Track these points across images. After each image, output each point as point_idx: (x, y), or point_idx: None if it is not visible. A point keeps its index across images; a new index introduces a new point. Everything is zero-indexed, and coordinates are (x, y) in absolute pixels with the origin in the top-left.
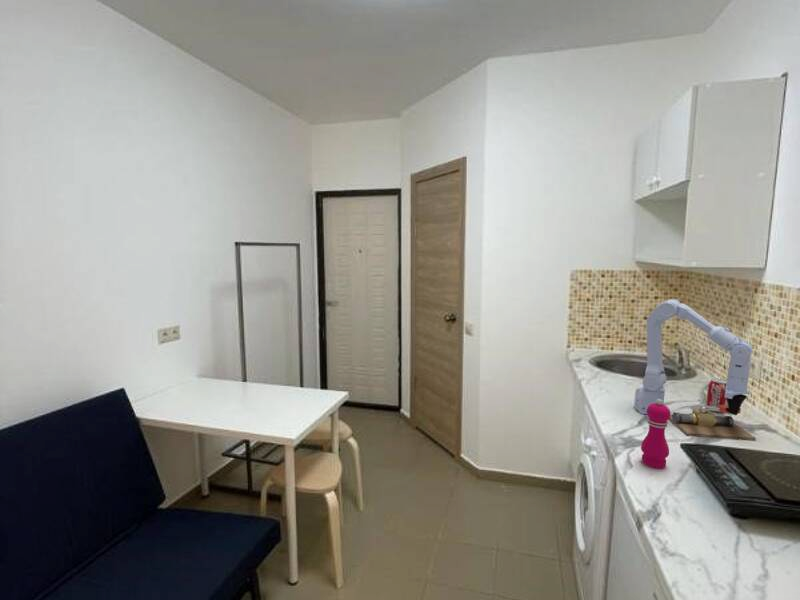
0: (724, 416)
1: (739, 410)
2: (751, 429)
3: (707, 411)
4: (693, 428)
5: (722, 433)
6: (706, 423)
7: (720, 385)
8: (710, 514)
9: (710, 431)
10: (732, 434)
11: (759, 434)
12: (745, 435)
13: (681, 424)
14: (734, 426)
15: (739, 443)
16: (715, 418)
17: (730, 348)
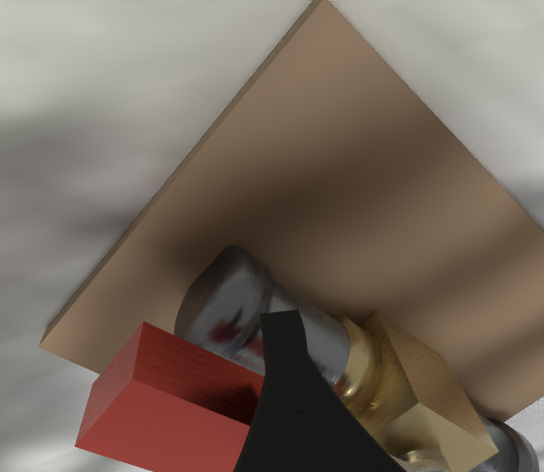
0: (240, 359)
1: (151, 357)
2: (16, 147)
3: (424, 456)
4: (518, 351)
5: (465, 220)
6: (421, 353)
7: None
8: None
9: (493, 280)
10: (422, 169)
11: (74, 42)
12: (346, 91)
13: (497, 406)
14: (188, 242)
15: (520, 61)
16: (361, 367)
17: None
